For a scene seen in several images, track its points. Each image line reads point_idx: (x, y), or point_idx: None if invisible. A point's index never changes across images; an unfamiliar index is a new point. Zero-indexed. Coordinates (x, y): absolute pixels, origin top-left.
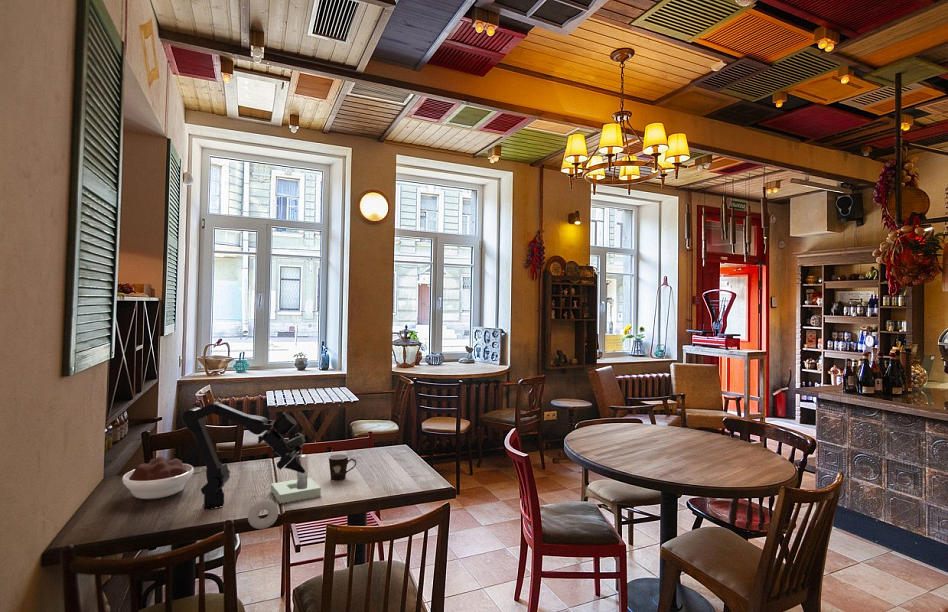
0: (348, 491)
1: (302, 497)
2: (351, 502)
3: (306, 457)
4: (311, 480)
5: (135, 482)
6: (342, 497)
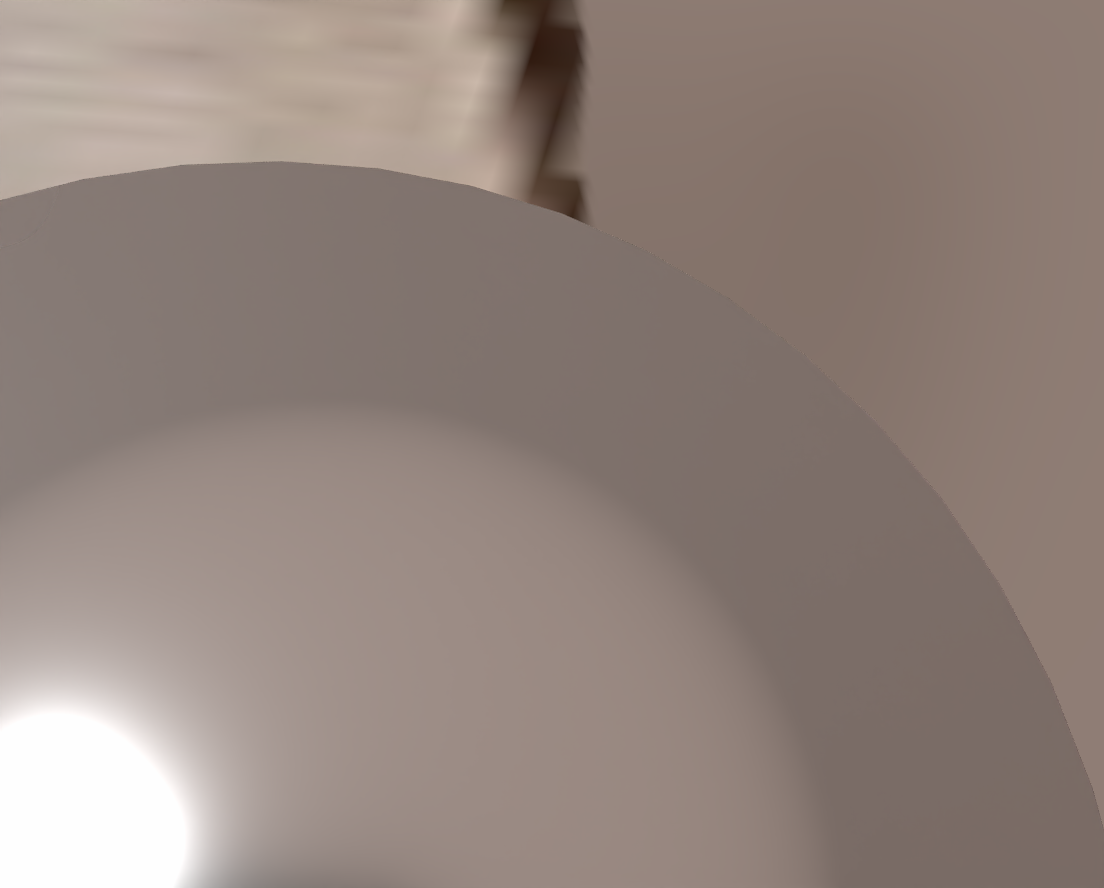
0: (8, 24)
1: None
2: (550, 41)
3: (724, 387)
4: None
5: None
6: (278, 132)
